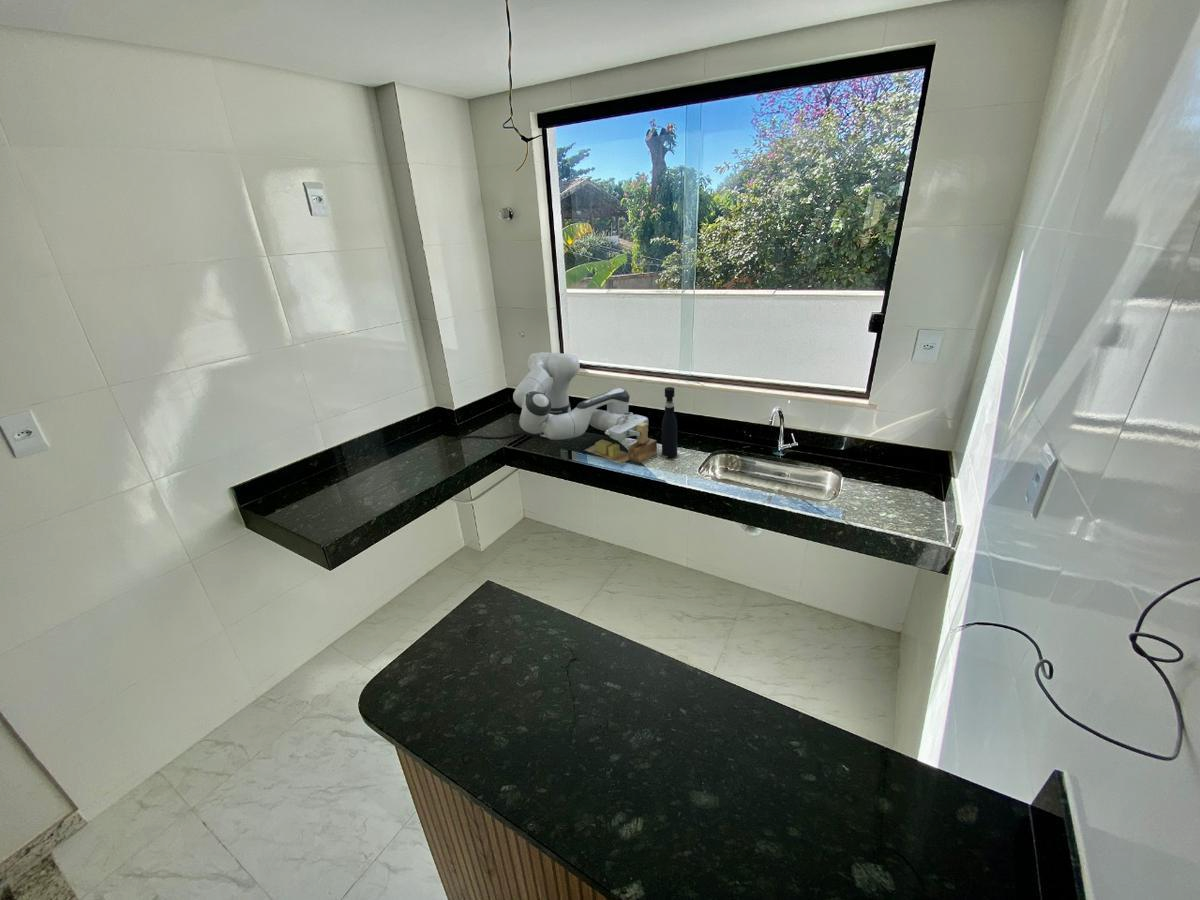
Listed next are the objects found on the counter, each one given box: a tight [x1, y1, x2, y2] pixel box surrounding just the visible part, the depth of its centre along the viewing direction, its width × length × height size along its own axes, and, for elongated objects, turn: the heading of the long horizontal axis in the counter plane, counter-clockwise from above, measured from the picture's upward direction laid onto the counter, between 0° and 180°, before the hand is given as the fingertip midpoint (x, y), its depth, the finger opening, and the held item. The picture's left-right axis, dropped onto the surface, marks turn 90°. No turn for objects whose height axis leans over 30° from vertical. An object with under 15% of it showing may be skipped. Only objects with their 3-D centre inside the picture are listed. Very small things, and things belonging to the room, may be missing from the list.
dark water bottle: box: [661, 386, 678, 460], centre depth 200 cm, size 6×6×30 cm
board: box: [584, 444, 630, 464], centre depth 211 cm, size 22×9×1 cm, turn 48°
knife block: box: [627, 437, 658, 464], centre depth 205 cm, size 6×12×7 cm, turn 138°
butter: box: [594, 439, 613, 454], centre depth 212 cm, size 6×4×4 cm
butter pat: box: [608, 443, 621, 457], centre depth 208 cm, size 2×4×4 cm, turn 138°
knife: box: [636, 422, 650, 448], centre depth 203 cm, size 3×8×16 cm, turn 138°
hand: (643, 432), depth 200 cm, fingers closed on knife, 3 cm apart
